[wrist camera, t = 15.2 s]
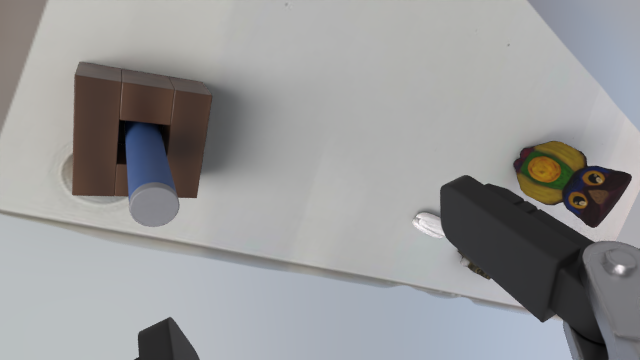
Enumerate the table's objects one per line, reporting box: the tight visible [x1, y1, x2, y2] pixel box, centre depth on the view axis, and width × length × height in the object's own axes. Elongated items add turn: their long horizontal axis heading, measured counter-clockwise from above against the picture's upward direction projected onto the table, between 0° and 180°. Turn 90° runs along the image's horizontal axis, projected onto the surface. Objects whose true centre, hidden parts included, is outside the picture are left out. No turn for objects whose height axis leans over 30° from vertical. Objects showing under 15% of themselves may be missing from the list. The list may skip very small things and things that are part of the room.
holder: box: [72, 62, 212, 198], centre depth 36 cm, size 10×10×5 cm
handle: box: [125, 120, 179, 227], centre depth 32 cm, size 3×3×16 cm
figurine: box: [513, 141, 632, 228], centre depth 61 cm, size 10×7×15 cm
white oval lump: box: [412, 213, 445, 238], centre depth 62 cm, size 3×8×3 cm, turn 55°
